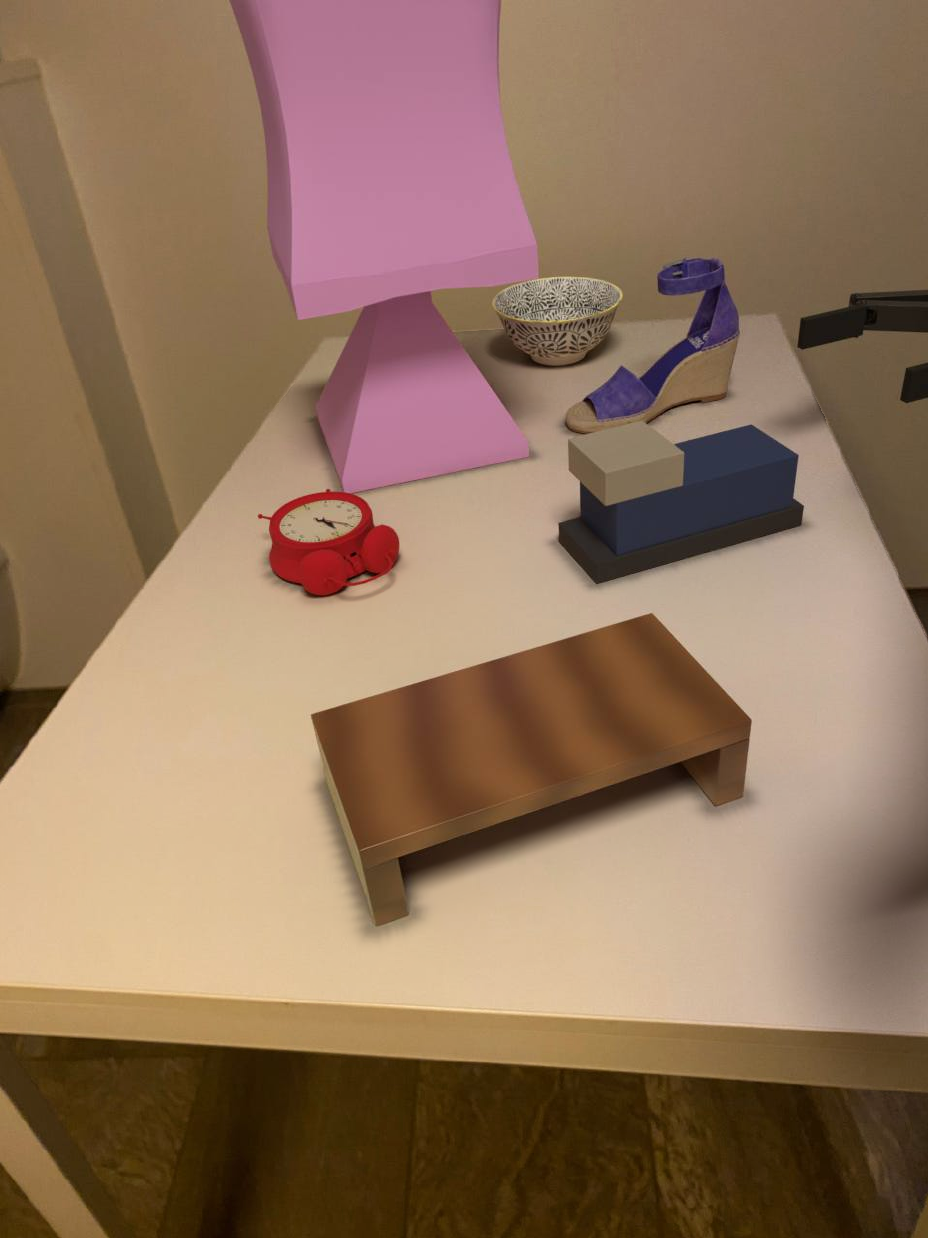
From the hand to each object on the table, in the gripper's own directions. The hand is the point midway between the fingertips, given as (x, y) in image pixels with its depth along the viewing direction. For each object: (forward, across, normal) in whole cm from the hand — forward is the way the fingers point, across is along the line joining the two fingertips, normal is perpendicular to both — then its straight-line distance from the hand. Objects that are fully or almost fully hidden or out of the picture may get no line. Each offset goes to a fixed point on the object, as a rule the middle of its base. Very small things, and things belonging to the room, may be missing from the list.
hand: (849, 358), depth 82 cm
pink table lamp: (+30, +31, -13) cm, 45 cm away
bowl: (+7, +44, -13) cm, 47 cm away
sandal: (+5, +24, -13) cm, 28 cm away
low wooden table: (+40, -23, -13) cm, 48 cm away
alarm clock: (+45, +10, -13) cm, 48 cm away
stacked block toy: (+16, 0, -13) cm, 20 cm away
